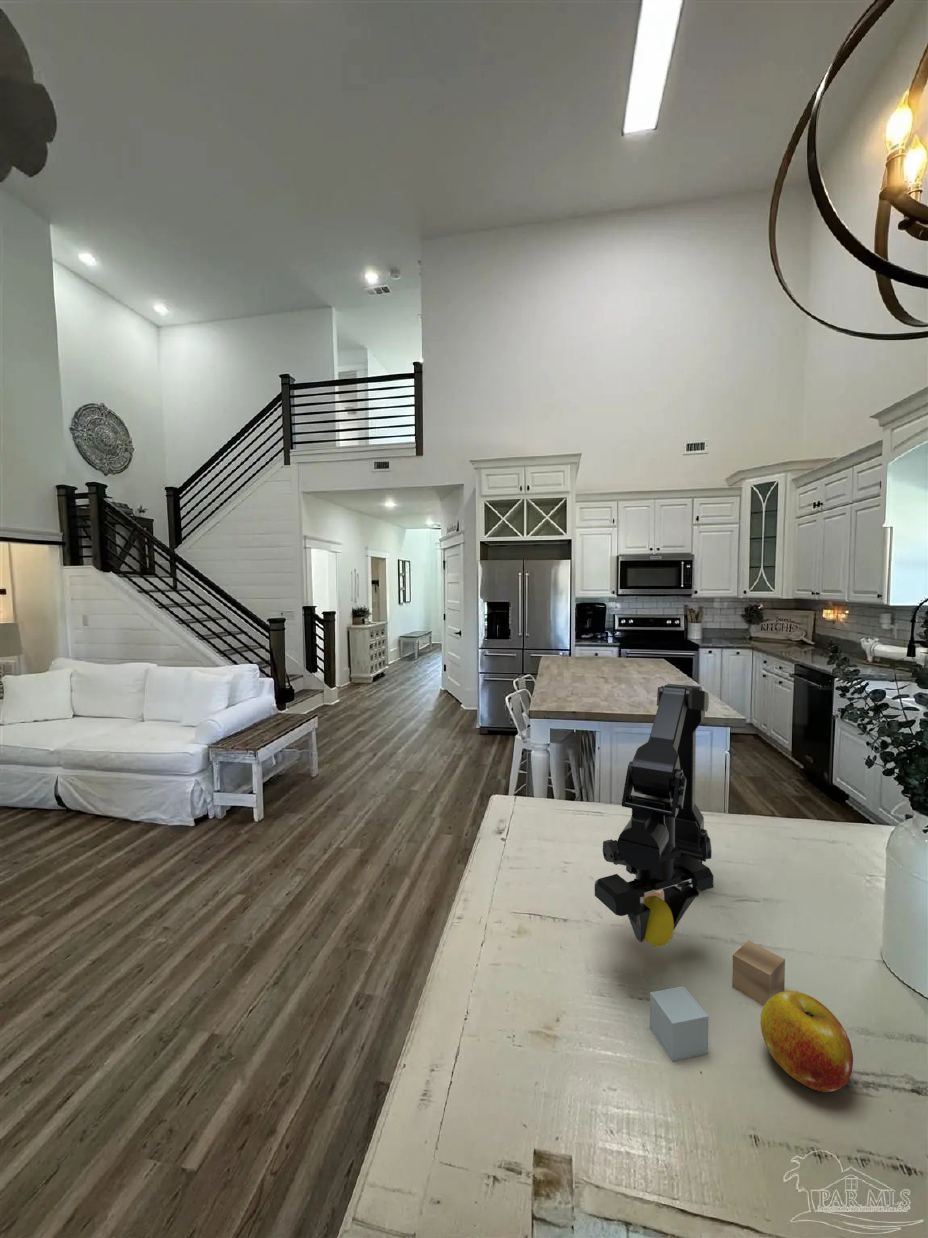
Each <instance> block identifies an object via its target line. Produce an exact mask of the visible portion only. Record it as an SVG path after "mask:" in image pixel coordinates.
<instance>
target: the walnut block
mask: <svg viewBox="0 0 928 1238" xmlns="http://www.w3.org/2000/svg"><path fill="white" fill-rule="evenodd" d="M785 973H786V958H784V957H782V956H780V955H778V954H776V953H774V952H772V951H770V950H768V949H766V948H764V947H763V946H761V945H759V944H757V943H755V942H753V941H751V940H749V939H748V940H747V941H746V942H745V943H744V944H743V945H742V946H741V947H740V948H737V950H736V951H735V952H733V954H732V974H731V975H732V977H731V978H732V979H731V980H732V983H731V984H732V985H731V987H732V988H733V989H735V990H737V991H738V992H740V993H742V994H743V995H745V996H747V997H748V998H750V999H752V1000H753V1001H755V1002H757V1003H758V1004H760V1005H761V1006H762V1007H763V1006H764V1005H765V1003H766V1002H767V1000H768V999H769V998H771V997H772V996H774V995H775V994H777V993H779V992H783V991H785V980H786V979H785V978H786V974H785Z"/></svg>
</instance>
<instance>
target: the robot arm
mask: <svg viewBox="0 0 928 1238" xmlns="http://www.w3.org/2000/svg"><path fill="white" fill-rule="evenodd" d="M656 694H657V695H656V706H657V708H656V709H657V710H656V713H655V716H654V720H653V722H652V723H653V724H652V727H651V732H650V734H649V737H648V740H647V741H646V742H645V743H644V744H641V745H640V746H639V747H637V748H636V751H635V754H634V756H633V758H632V761H629V762H628V765H627V770H626V776H625V783H624V786H623V791H622V792H623V793H622V799H621V807H624V808H627V809H631V816H630V819H629V821H628V822H627V823H626V825H625V826H624V828H623V830H622V831H621V833H620V834H619V835H618V839H617V840H616V839H607V840H603V841H602V855H603V858H604V860H605V861H606V863H607V862H608V863H613V864H614V865H616V866H618V865H619V866H620V865H621V866H625V870H626V872H627V873H629V874H630V875H634V876H635V877H634V878H633V879H632V880H630V881H626V880H625V879H624V878H623V877H621V876H620V875H619V874H618V873H614V874H611V875H608V876H603V877H600V878H598V879H596V880H595V881H594V897H596V899H598V900H599V901H600V902H601V903H602V904H604V906H606V908H607V909H609V910H610V911H611V912H612V913H613V914H614V915H615V916H619V917H624V916H626V915H627V916H628V920H629V921H630V922H629V923H630V925H631V928H632V930H633V933H634V937H635V939H636V940H637V941H638V942H640V943H643V942H644V941H645V940H644V937H645V934H646V929H647V924H648V919H649V915H650V908H648V907H647V906H646V905H645V904H644V895H645V894H648V893H651V892H655V891H658V890H661V889H663V891H664V901H665V902H666V903H667V904H668V906H669V908H670V909H671V912H672V916H673V921H674V930H675V929H676V927H677V925H678V924H679V922H680V921H681V919H682V918H683V916H684V915H685V913H686V911H687V910H688V908H689V907H690V906H691V905H692V903H693V902H694V900H695V899H696V898H698V897H699V896H700V892H703V891H706V890H710V889H713V888H714V874H713V872H712V870H711V869H710V867H709V866H707V865H705V864H704V863H706V862H707V860H710V859H712V853H713V852H712V850H713V849H712V843H711V842H712V840H711V838H710V837H709V834H708V830H707V829H705V818H704V816H703V814H702V812H701V811H700V809H699V808H698V806H697V804H696V751H697V750H696V748H697V746H696V745H697V744H696V743H697V742H696V737H697V735H696V733H697V729H698V727H699V726H700V724H701V723H702V721H703V720H704V719H705V716H706V712H708V710H709V705H710V704H709V700H710V698H709V693H708V692H707V691H705V690H703V688H702V685H701V686H698V685H686V684H674V683H673V684H672V683H667V684H665V685H661V686H657V692H656ZM632 791H634V793H635V794H641V795H644V796H643V797H642V796H639V795H633V792H632ZM703 862H704V863H703ZM699 891H700V892H699Z"/></svg>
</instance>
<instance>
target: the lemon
mask: <svg viewBox="0 0 928 1238" xmlns="http://www.w3.org/2000/svg"><path fill="white" fill-rule="evenodd" d="M644 904H645V905H646V906H647V907H648V908H650V915H649V919H648V924H647V929H646V934H645V937H644V940H643V941H644V942H646V943H648V944H649V945H651V946H652V947H654V948H656V947H662V946H665V945H666V944H668V943H669V942H670V940H672V937H673V933H674V931H675V929H674V921H673V916H672V912H671V909H670V908H669V906H668V904H667V903H666V902H665V901H664V900H662V899H661V898H659V897H657V896H648V897H646V898H644Z"/></svg>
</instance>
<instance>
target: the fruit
mask: <svg viewBox="0 0 928 1238" xmlns="http://www.w3.org/2000/svg"><path fill="white" fill-rule="evenodd" d="M759 1024H760V1032H761V1036H762V1037H763V1038H762V1039H763V1041H764V1044H765V1046H766V1048H767V1050H768V1052H769V1054H770V1055H771V1057H772V1058H773V1059H774V1060H775V1062H776V1063H777V1064H778V1065H779V1066H780V1067H781V1069H782V1070H783V1071H785V1073H786V1074H788V1075H789V1076H790V1077H792V1078H793V1079H794V1080H795V1081H797V1082H799V1083H800V1084H801V1085H803V1086H805V1087H807V1088H810V1089H812V1090H815V1091H818V1092H824V1093H826V1092H827V1093H831V1092H835V1091H838V1090H840V1089H843V1087H844V1086H845V1085H846V1084H848V1082H849V1080H850V1079H851V1076H852V1073H853V1067H854V1065H853V1064H854V1053H853V1049H852V1044H851V1041H850V1038H849V1036H848V1034H847V1032H846V1030H845V1028H844V1027H843V1025H842V1023H841V1022H840V1020H838V1018H837V1017H836V1016H835V1014H834V1013H833V1011H831V1010H830V1009H829V1008H828V1007H827V1006H825V1004H823V1003H822V1002H821V1001H819V1000H818V999H816V998H814V997H813V996H811V995H808V994H806V993H803V992H801V991H797V990H796V991H795V990H784V991H783V992H779V993H777V994H775V995H774V996H772V997H771V998H769V999H768V1000H767V1002H766V1003H765V1005H764V1006H763V1005H762V1009H761V1013H760V1023H759Z"/></svg>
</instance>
